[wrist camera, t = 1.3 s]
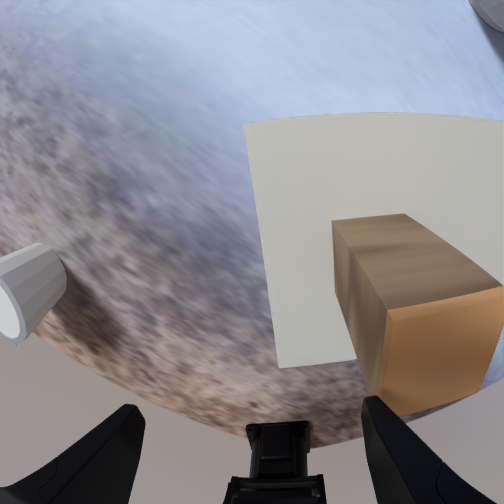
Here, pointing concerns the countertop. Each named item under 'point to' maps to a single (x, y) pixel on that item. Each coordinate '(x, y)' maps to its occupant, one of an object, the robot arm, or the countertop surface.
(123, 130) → the countertop surface
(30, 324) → the white tapered cup
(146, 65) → the countertop surface
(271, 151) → the cutting board
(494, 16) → the teacup
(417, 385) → the walnut block
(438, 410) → the countertop surface
